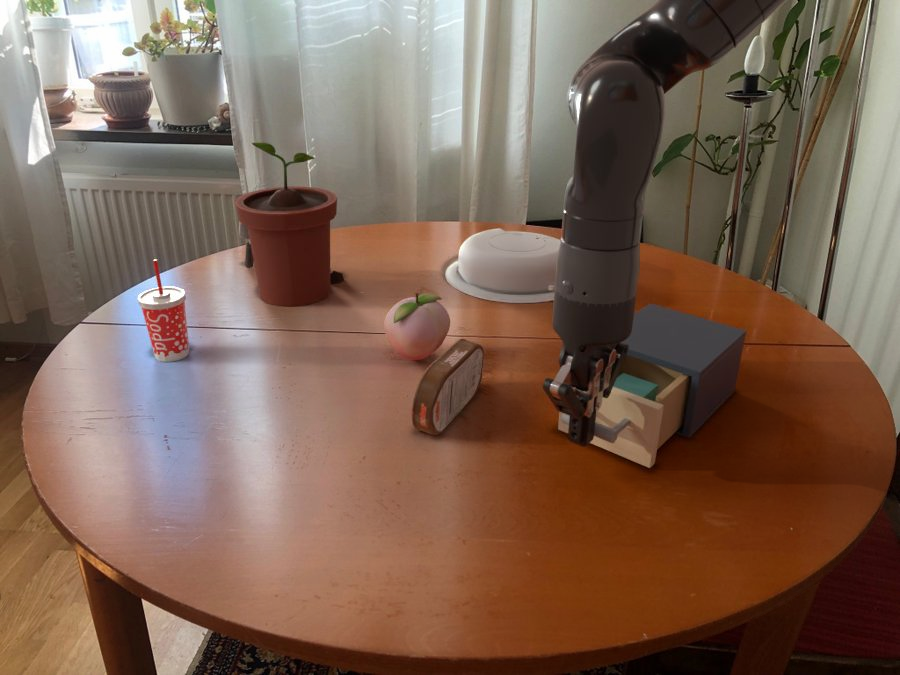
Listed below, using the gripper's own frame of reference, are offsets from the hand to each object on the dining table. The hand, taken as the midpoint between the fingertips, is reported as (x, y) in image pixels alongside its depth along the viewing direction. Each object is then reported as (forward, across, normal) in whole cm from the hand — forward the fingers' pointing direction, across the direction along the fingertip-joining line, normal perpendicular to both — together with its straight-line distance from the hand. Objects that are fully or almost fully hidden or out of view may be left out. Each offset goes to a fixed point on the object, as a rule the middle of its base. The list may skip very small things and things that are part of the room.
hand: (580, 440), depth 76 cm
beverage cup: (+5, -12, +58) cm, 60 cm away
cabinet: (+5, +21, 0) cm, 21 cm away
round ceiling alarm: (+5, +44, +39) cm, 59 cm away
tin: (+5, +1, +18) cm, 19 cm away
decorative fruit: (+5, +9, +31) cm, 33 cm away
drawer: (+4, +10, 0) cm, 10 cm away
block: (+3, +11, 0) cm, 11 cm away
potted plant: (+5, +15, +65) cm, 67 cm away
